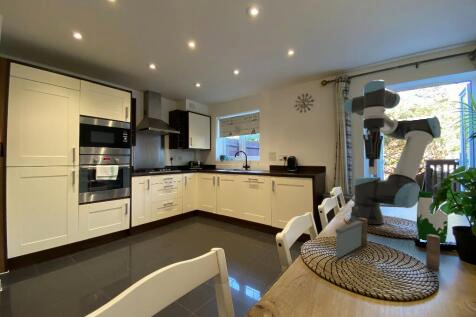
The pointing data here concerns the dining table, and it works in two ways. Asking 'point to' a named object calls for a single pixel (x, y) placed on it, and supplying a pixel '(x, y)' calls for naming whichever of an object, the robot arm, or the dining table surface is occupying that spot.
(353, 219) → the salt shaker
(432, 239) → the post
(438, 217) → the milk carton
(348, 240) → the gate
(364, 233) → the hinge post
